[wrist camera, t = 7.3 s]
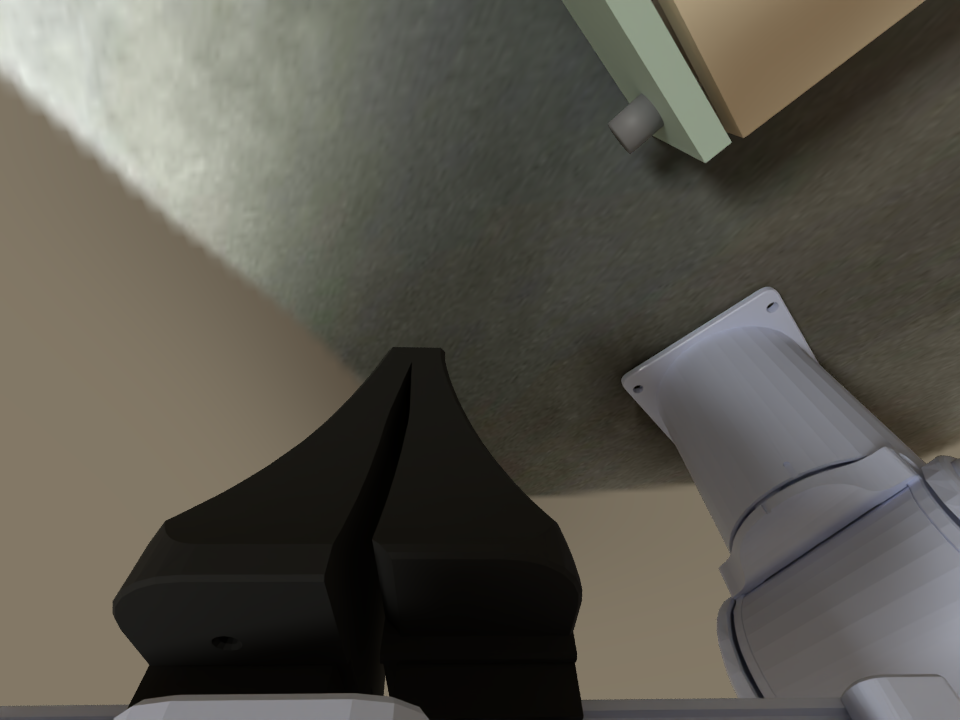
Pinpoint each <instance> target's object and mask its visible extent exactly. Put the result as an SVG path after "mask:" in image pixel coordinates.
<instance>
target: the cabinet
mask: <svg viewBox="0 0 960 720" xmlns="http://www.w3.org/2000/svg"><path fill="white" fill-rule="evenodd" d="M651 1H652V3H653V5H654V7H655V8H656V10H657V12H658V14H659V15H660V17H661V19H662V21H663V22H664V24H665V26H666V28H667V29H668V31H669V33H670V35H671V37H672V38H673V40H674V42H675V44H676V45H677V47H678V49H679V51H680V52H681V54H682V56H683V58H684V59H685V61H686V63H687V65H688V66H689V68H690V70H691V72H692V73H693V75H694V77H695V79H696V80H697V82H698V84H699V86H700V87H701V89H702V91H703V93H704V94H705V96H706V98H707V100H708V101H709V103H710V105H711V107H712V108H713V110H714V112H715V114H716V116H717V117H718V119H719V121H720V123H721V124H722V126H723V128H724V130H725V131H726V132H728V133H731V134H733V135H736V136H739V137H742V138H745V137H746V136H747V135H749V134H750V133H751V132H753V131H754V130H755V129H757V128H758V127H759V126H761V125H762V124H763V123H765V122H766V121H767V120H769V119H770V118H771V117H773V116H774V115H775V114H776V113H778V112H779V111H780V110H782V109H783V108H784V107H786V106H787V105H788V104H790V103H791V102H792V101H794V100H795V99H796V98H798V97H799V96H800V95H801V94H803V93H804V92H805V91H807V90H808V89H809V88H811V87H812V86H813V85H815V84H816V83H817V82H819V81H820V80H821V79H823V78H824V77H825V76H826V75H828V74H829V73H830V72H832V71H833V70H834V69H836V68H837V67H838V66H840V65H841V64H842V63H844V62H845V61H846V60H848V59H849V58H850V57H851V56H853V55H854V54H855V53H857V52H858V51H859V50H861V49H862V48H863V47H865V46H866V45H867V44H869V43H870V42H871V41H873V40H874V39H875V38H877V37H878V36H879V35H880V34H882V33H883V32H884V31H886V30H887V29H888V28H890V27H891V26H892V25H894V24H895V23H896V22H898V21H899V20H900V19H902V18H903V17H904V16H905V15H907V14H908V13H909V12H911V11H912V10H913V9H915V8H916V7H917V6H919V5H920V4H921V3H923V2H924V1H925V0H651Z"/></svg>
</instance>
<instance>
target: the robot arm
mask: <svg viewBox="0 0 960 720" xmlns="http://www.w3.org/2000/svg"><path fill="white" fill-rule="evenodd" d="M773 302H774V304H773V305H772V306H771V307H770V308H767V306H768V305H769V304H771V303H773ZM621 383H622V385H623V387H624V389H625V390H626V391H627V392H628V393H629V394H630V395H631V396H632V397H633V399H634V400H635V401H636V402H637V403H638V404H639V405H640V406H641V407H642V409H643V410H644V411H645V412H646V413H647V414H648V415H649V416H650V417H651V419H652V420H653V421H654V422H655V423H656V424H657V425H658V426H659V427H660V429H661V430H662V431H663V432H664V433H665V434H666V435H667V436H668V437H669V439H670V440H671V441H672V442H673V443H674V444H675V446H676V448H677V450H678V451H679V453H680V455H681V457H682V459H683V461H684V463H685V465H686V467H687V469H688V471H689V473H690V475H691V477H692V479H693V481H694V483H695V485H696V487H697V489H698V491H699V493H700V495H701V497H702V499H703V501H704V503H705V504H706V507H707V509H708V511H709V513H710V515H711V516H712V518H713V520H714V522H715V524H716V526H717V528H718V530H719V532H720V534H721V536H722V538H723V540H724V542H725V544H726V546H727V548H728V550H729V551H730V554H731V555H730V557H729V558H728V559H727V561H726V562H725V563H724V564H722V565H721V566H720V567H719V570H720V573H721V575H722V577H723V579H724V581H725V583H726V585H727V587H728V589H729V592H730V594H731V597H730V598H728V599H727V600H726V601H724V603H723V604H722V606H721V608H720V609H719V613H718V617H717V635H718V641H719V647H720V651H721V654H722V658H723V661H724V665H725V668H726V671H727V674H728V677H729V679H730V682H731V684H732V686H733V688H734V691H735V693H736V695H737V697H738V698H729V699H727V698H720V699H625V700H581V697H580V691H579V686H578V680H577V673H576V667H575V662H576V660H577V651H576V645H575V639H574V634H573V630H574V627H575V623H576V620H577V616H578V613H579V609H580V606H581V602H582V586H581V582H580V578H579V574H578V572H577V568H576V565H575V562H574V560H573V557H572V554H571V552H570V549H569V547H568V545H567V542H566V540H565V538H564V536H563V534H562V532H561V530H560V528H559V526H558V524H557V522H555V521H554V520H553V519H552V518H551V517H550V516H548V515H547V514H546V513H545V512H544V511H543V510H542V509H540V508H539V507H538V506H537V505H536V504H535V503H534V502H533V501H532V500H531V499H530V498H529V497H528V496H527V495H526V494H525V493H524V492H523V491H522V490H521V489H520V488H519V487H518V486H517V485H516V484H515V483H514V482H513V480H512V479H511V478H510V477H509V476H508V475H507V473H506V472H505V471H504V470H503V469H502V467H501V466H500V465H499V464H498V463H497V462H496V460H495V459H494V458H493V457H492V455H491V454H490V452H489V451H488V450H487V448H486V447H485V445H484V444H483V443H482V441H481V440H480V438H479V437H478V435H477V433H476V432H475V430H474V429H473V427H472V425H471V423H470V422H469V420H468V418H467V416H466V414H465V412H464V411H463V409H462V407H461V404H460V402H459V400H458V398H457V396H456V393H455V391H454V388H453V386H452V383H451V381H450V378H449V374H448V371H447V367H446V363H445V352H444V351H443V350H442V349H441V348H408V347H393V348H392V349H390V350H389V351H388V353H387V354H386V355H385V357H384V358H383V359H382V361H381V362H380V363H379V365H378V366H377V367H376V368H375V370H374V371H373V372H372V373H371V375H370V376H369V377H368V378H367V379H366V380H365V382H364V383H363V384H362V385H361V386H360V387H359V388H358V390H357V391H356V392H355V393H354V394H353V395H352V396H351V397H350V398H349V399H348V400H347V401H346V402H345V403H344V404H343V405H342V407H341V408H339V409H338V411H337V412H335V413H334V414H333V415H332V416H331V417H330V418H329V419H328V420H327V421H326V422H325V423H324V424H323V425H322V426H320V427H319V428H318V429H317V430H316V431H315V432H314V433H312V434H311V435H310V436H309V437H307V438H306V439H305V440H304V441H302V442H301V443H300V444H298V445H297V446H296V447H294V448H293V449H291V450H290V451H289V452H287V453H286V454H284V455H283V456H281V457H280V458H279V459H277V460H276V461H274V462H273V463H271V464H270V465H268V466H267V467H265V468H264V469H262V470H261V471H259V472H257V473H256V474H254V475H252V476H251V477H249V478H248V479H246V480H244V481H242V482H241V483H239V484H237V485H235V486H234V487H232V488H230V489H228V490H226V491H225V492H223V493H221V494H219V495H217V496H215V497H213V498H211V499H209V500H207V501H205V502H203V503H201V504H199V505H197V506H195V507H193V508H191V509H189V510H187V511H185V512H183V513H181V514H179V515H177V516H175V517H173V518H171V519H168V520H166V521H165V522H164V524H163V525H162V526H161V528H160V529H159V531H158V532H157V533H156V535H155V536H154V537H153V539H152V540H151V541H150V543H149V544H148V546H147V547H146V549H145V551H144V552H143V554H142V556H141V557H140V559H139V560H138V562H137V563H136V565H135V567H134V568H133V570H132V572H131V573H130V575H129V576H128V578H127V579H126V581H125V583H124V584H123V586H122V588H121V589H120V591H119V592H118V594H117V595H116V597H115V599H114V600H113V615H114V618H115V620H116V621H117V623H118V625H119V627H120V629H121V630H122V632H123V633H124V634H125V635H126V637H127V638H128V639H129V640H130V642H131V643H132V644H133V645H134V646H135V648H136V649H137V650H138V651H139V652H140V654H141V655H142V656H143V657H144V659H145V660H146V661H147V662H148V664H149V667H148V669H147V671H146V673H145V675H144V677H143V679H142V681H141V683H140V685H139V687H138V689H137V691H136V693H135V695H134V697H133V699H132V700H131V703H130V704H129V705H65V706H64V705H57V706H56V705H55V706H0V720H960V459H957V458H954V457H950V456H937V457H935V459H933V460H932V461H930V462H929V463H928V464H926V463H925V462H924V461H923V460H922V459H921V458H920V457H919V456H917V455H916V454H915V453H914V452H913V451H912V450H911V449H910V448H909V447H908V446H907V445H906V444H905V443H903V442H902V441H901V440H900V439H899V438H898V437H897V436H896V435H895V434H894V433H893V432H892V431H891V430H889V429H888V428H887V427H886V426H885V425H884V424H883V423H882V422H881V421H880V420H879V419H878V418H877V417H875V416H874V415H873V414H872V413H871V412H870V411H869V410H868V409H867V408H866V407H865V406H864V405H863V404H861V403H860V402H859V401H858V400H857V399H856V398H855V397H854V396H853V395H852V394H851V393H850V392H849V391H847V390H846V389H845V388H844V387H843V386H842V385H841V384H840V383H839V382H838V381H837V380H836V379H835V378H833V377H832V376H831V375H830V374H829V373H828V372H827V371H826V370H825V369H824V368H823V367H822V366H820V365H819V363H818V361H817V360H816V358H815V356H814V354H813V353H812V351H811V349H810V347H809V345H808V344H807V342H806V340H805V338H804V337H803V335H802V333H801V331H800V330H799V328H798V326H797V324H796V323H795V321H794V319H793V317H792V316H791V314H790V312H789V310H788V309H787V307H786V305H785V303H784V302H783V300H782V298H781V296H780V295H779V293H778V292H777V291H776V290H775V289H774V288H772V287H764V288H761V289H759V290H758V291H756V292H755V293H753V294H751V295H750V296H748V297H747V298H745V299H743V300H742V301H740V302H739V303H737V304H736V305H734V306H732V307H731V308H729V309H728V310H726V311H724V312H723V313H721V314H720V315H718V316H716V317H715V318H713V319H712V320H710V321H709V322H707V323H705V324H704V325H702V326H701V327H699V328H697V329H696V330H694V331H693V332H691V333H689V334H688V335H686V336H685V337H683V338H681V339H680V340H678V341H677V342H675V343H674V344H672V345H670V346H669V347H667V348H666V349H664V350H662V351H661V352H659V353H658V354H656V355H654V356H653V357H651V358H650V359H648V360H647V361H645V362H643V363H642V364H640V365H639V366H637V367H635V368H634V369H632V370H631V371H629V372H627V373H626V374H625V375H624V376H623V377H622V379H621ZM637 385H641V386H640V387H639V388H636V389H634V387H635V386H637ZM385 676H386V681H387V686H388V691H389V697H388V696H384V695H383V694H384V682H385Z"/></svg>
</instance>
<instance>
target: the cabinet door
mask: <svg viewBox="0 0 960 720" xmlns="http://www.w3.org/2000/svg"><path fill="white" fill-rule="evenodd" d="M562 2H563V3H564V5H565V6H566V8H567V9H568V11H569V12H570V14H571V16H572V17H573V19H574V20H575V22H576V23H577V25H578V26H579V28H580V29H581V31H582V32H583V34H584V35H585V37H586V38H587V40H588V41H589V43H590V44H591V46H592V47H593V49H594V51H595V52H596V54H597V55H598V57H599V58H600V60H601V61H602V63H603V64H604V66H605V67H606V69H607V70H608V72H609V73H610V75H611V76H612V78H613V79H614V81H615V82H616V84H617V85H618V87H619V89H620V90H621V92H622V93H623V95H624V96H625V98H626V99H627V101H628V102H629V105H627V106H626V107H625V108H624V109H623V110H622V111H621V112H620V113H619V114H618V115H617V116H615V117H614V118H613V119H612V120H611V121H610V122H609V123H608V126H609V128H610V130H611V131H612V133H613V134H614V136H615V137H616V138H617V140H618V141H619V142H620V144H621V145H622V146H623V147H624V149H625V150H626V151H627V152H628V153H629V154H631V153H632V152H634V151H635V150H636V149H637V148H638V147H639V146H641V145H642V144H643V143H644V142H645V141H646V140H648V139H649V138H650V137H651V136H654V137H656V138H658V139H660V140H662V141H664V142H666V143H668V144H670V145H671V146H673V147H675V148H677V149H679V150H681V151H683V152H685V153H687V154H689V155H690V156H692V157H694V158H696V159H698V160H700V161H702V162H704V163H706V162H708V161H709V160H710V159H711V158H713V157H714V156H715V155H717V154H718V153H719V152H720V151H722V150H723V149H724V148H725V147H727V146H728V145H729V144H730V143H732V142H731V140H730V138H729V137H728V135H727V133H726V131H725V130H724V128H723V126H722V124H721V123H720V121H719V119H718V117H717V116H716V114H715V112H714V110H713V108H712V107H711V105H710V103H709V101H708V100H707V98H706V96H705V94H704V93H703V91H702V89H701V87H700V86H699V84H698V82H697V80H696V79H695V77H694V75H693V73H692V72H691V70H690V68H689V66H688V65H687V63H686V61H685V59H684V58H683V56H682V54H681V52H680V51H679V49H678V47H677V45H676V44H675V42H674V40H673V38H672V37H671V35H670V33H669V31H668V29H667V28H666V26H665V24H664V22H663V21H662V19H661V17H660V15H659V14H658V12H657V10H656V8H655V7H654V5H653V3H652V1H651V0H562Z"/></svg>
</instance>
